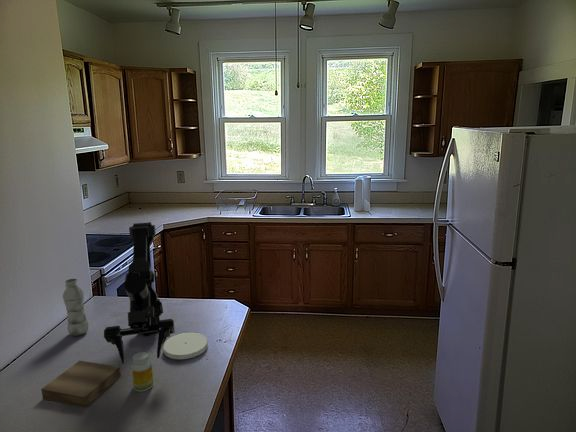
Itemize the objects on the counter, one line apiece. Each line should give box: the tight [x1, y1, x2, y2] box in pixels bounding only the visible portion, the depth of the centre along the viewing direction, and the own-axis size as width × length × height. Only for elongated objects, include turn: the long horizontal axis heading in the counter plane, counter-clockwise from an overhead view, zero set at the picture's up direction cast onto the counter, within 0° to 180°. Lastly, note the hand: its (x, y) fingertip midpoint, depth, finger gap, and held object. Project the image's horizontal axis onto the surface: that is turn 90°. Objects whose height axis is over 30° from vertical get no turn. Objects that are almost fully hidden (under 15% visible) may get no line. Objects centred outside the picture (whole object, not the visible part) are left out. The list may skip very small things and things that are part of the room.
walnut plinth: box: [41, 360, 121, 408], centre depth 116 cm, size 14×14×3 cm
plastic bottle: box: [62, 278, 89, 337], centre depth 144 cm, size 6×7×20 cm
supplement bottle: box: [130, 351, 154, 393], centre depth 115 cm, size 5×5×10 cm
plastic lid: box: [162, 332, 209, 360], centre depth 134 cm, size 14×14×2 cm
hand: (140, 360), depth 114 cm, fingers open, 9 cm apart
